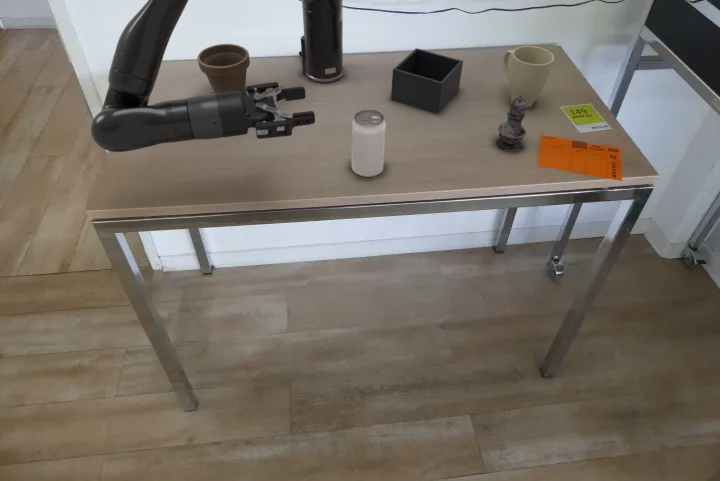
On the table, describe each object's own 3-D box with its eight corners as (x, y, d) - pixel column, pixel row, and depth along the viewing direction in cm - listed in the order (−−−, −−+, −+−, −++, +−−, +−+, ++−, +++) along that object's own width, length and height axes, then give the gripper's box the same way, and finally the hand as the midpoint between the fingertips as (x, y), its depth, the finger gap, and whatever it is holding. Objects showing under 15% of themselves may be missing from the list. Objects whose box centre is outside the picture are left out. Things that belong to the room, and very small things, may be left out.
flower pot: (195, 100, 131) (186, 60, 124) (221, 78, 138) (214, 39, 131) (238, 111, 128) (231, 71, 121) (262, 88, 136) (257, 48, 128)
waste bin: (390, 99, 133) (392, 69, 127) (413, 77, 140) (416, 48, 135) (438, 114, 129) (442, 83, 123) (458, 90, 136) (463, 60, 131)
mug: (543, 95, 135) (556, 47, 127) (538, 116, 129) (552, 67, 120) (498, 86, 138) (507, 40, 129) (491, 107, 131) (501, 59, 123)
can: (380, 180, 111) (383, 128, 103) (348, 175, 112) (348, 124, 104) (385, 161, 116) (388, 110, 107) (355, 156, 117) (355, 106, 108)
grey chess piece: (491, 136, 123) (502, 87, 114) (518, 135, 123) (530, 86, 115) (498, 152, 118) (510, 102, 110) (526, 151, 119) (539, 101, 110)
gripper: (217, 119, 89) (317, 106, 93) (210, 76, 99) (300, 66, 102) (224, 157, 95) (318, 144, 98) (217, 113, 104) (303, 102, 108)
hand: (309, 104), depth 100 cm, fingers open, 8 cm apart
